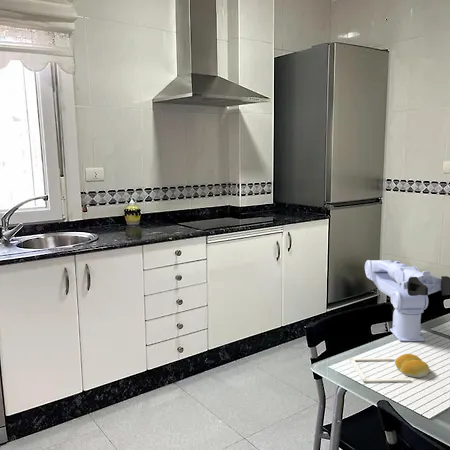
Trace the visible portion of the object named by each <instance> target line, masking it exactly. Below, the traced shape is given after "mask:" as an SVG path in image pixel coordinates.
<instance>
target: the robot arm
mask: <svg viewBox="0 0 450 450" xmlns="http://www.w3.org/2000/svg"><path fill="white" fill-rule="evenodd" d="M364 271H365V272H364V273H365V276H366V278H367V279H368V280H371V281H372V282H373V284H374V285H375V286H376V288H377V289H378V291H380V292H382V293H383V294H385V295H387V296H388V297H389V298H390V303H391V305H392V307H393V308H394V311H393V314H392V328H389V331H390V332H391V333H392V334H393V335H394V336H395V337H396V338H397V340H398V341H400V342H425V341H426V339H425V338H424V337H423V336H421V321H422V320H421V319H422V314H423V313H424V312H425V311H424V310H426V309H427V308H428V306H429V297H428V296H429V295H431V294H434V293H437V292H439V291H440V292H441V296H449V295H450V276H447V275H443V276H441V278H439V277H436V276H434V275H431V272H430V271H429V270H423V271H420V270H419V268H418V267H417V266H416V265H413V266H408V265H407V264H406V263H402V262H401V261H400V260H392V259H386V260H385V259H380V260H379V259H377V260H376V259H375V260H374V259H373V260H372V259H371V260H370V259H367V260H366V261H365V263H364Z"/></svg>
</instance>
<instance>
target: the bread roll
mask: <svg viewBox="0 0 450 450" xmlns="http://www.w3.org/2000/svg"><path fill="white" fill-rule="evenodd" d="M394 365H395V367H396V368H397V370H398V371H400V372H401V374H403V375H405V376H408V377H410V378H411V377H413V378H418V379H420V378H424V377H426V376H428V375H429V373H430V367H429V365H428V363H427V362H425V361H424V360H422V359H421V357H419V356H417V355H416V354H412V353H404V354H401V355H400V356H398V357H397V358H396V359H395V361H394Z"/></svg>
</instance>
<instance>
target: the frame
mask: <svg viewBox="0 0 450 450" xmlns="http://www.w3.org/2000/svg"><path fill="white" fill-rule="evenodd" d="M349 361H350V363H351V365H352V366H353V367H354V369H355V371H356V372H357V374H358V376H359V377H360V379H361V381H362V382H363V384H366V383H371V384H372V383H411V382H412V380H411V379H410V378H409V377H405V378H402V377H399V378H395V377H394V378H367V377H366V376H365V375H364V372H363V371H362V370H361V368H360V367H359V364H358V363H357V362H394V358H393V357H352V358H351V357H350V358H349Z"/></svg>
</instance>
